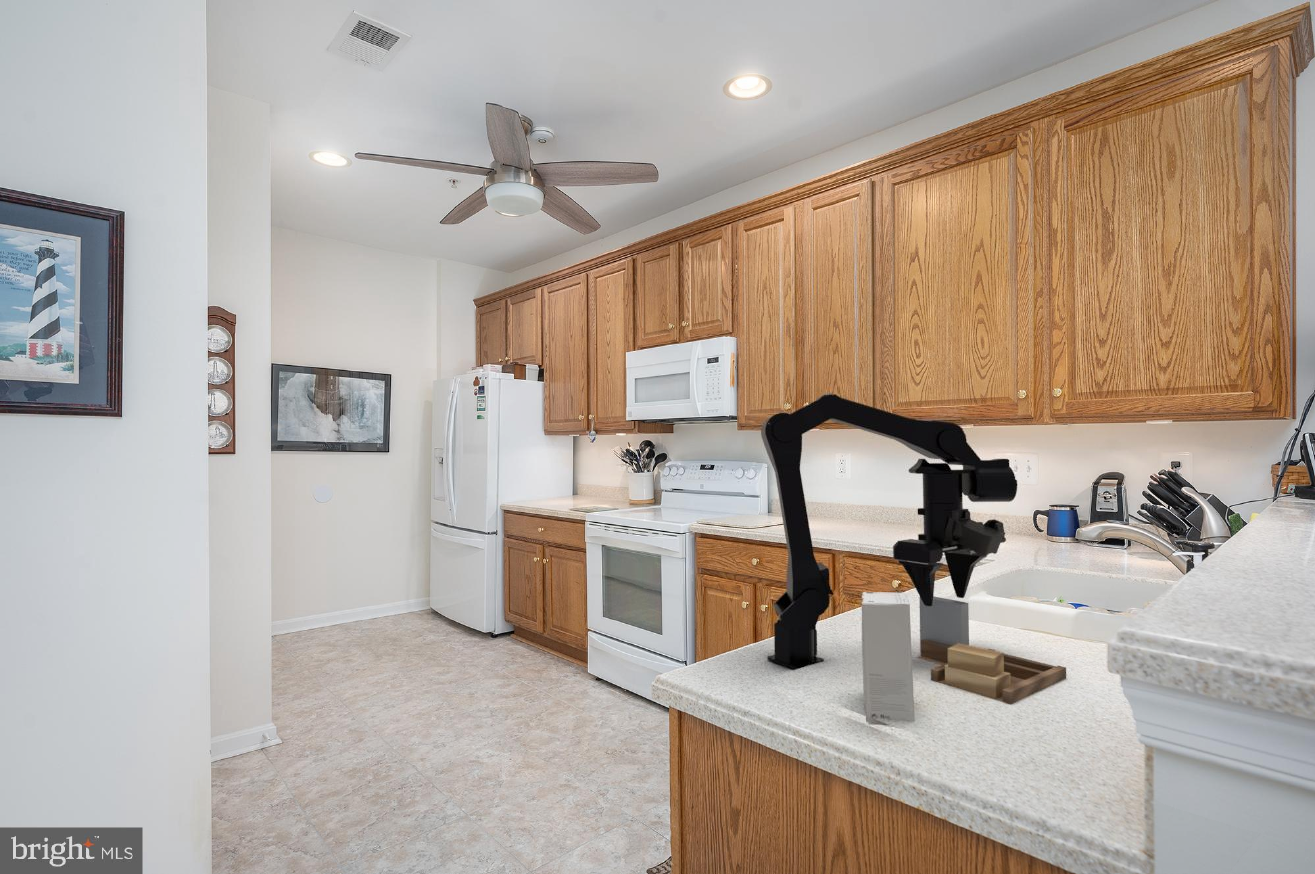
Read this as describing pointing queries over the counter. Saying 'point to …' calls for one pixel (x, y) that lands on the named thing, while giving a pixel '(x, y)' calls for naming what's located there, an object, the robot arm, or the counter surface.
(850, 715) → the counter surface
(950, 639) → the gray rectangular block
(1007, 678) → the offcut
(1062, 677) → the rack
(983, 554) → the robot arm
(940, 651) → the stand
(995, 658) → the offcut
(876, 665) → the skincare box
